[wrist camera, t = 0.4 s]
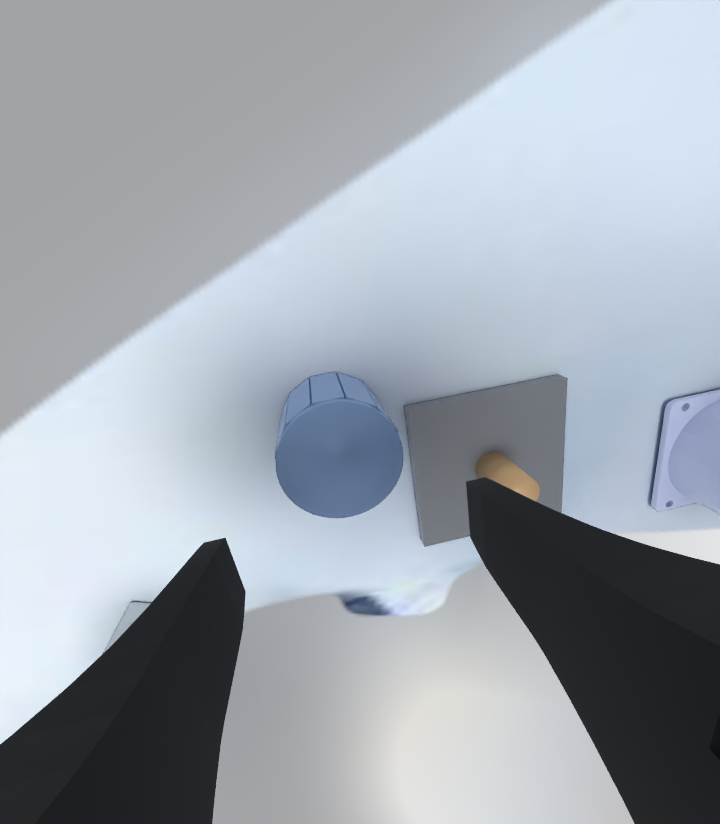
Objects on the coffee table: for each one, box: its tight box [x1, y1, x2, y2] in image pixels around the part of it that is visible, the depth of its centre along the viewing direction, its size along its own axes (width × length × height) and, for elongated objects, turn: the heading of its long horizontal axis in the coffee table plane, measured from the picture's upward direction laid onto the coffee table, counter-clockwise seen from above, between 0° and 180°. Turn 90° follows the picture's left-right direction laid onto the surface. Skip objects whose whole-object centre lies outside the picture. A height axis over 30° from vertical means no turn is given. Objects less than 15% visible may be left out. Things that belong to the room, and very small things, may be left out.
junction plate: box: [404, 375, 567, 547], centre depth 20 cm, size 9×9×4 cm
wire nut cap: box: [275, 372, 403, 518], centre depth 17 cm, size 5×5×5 cm
